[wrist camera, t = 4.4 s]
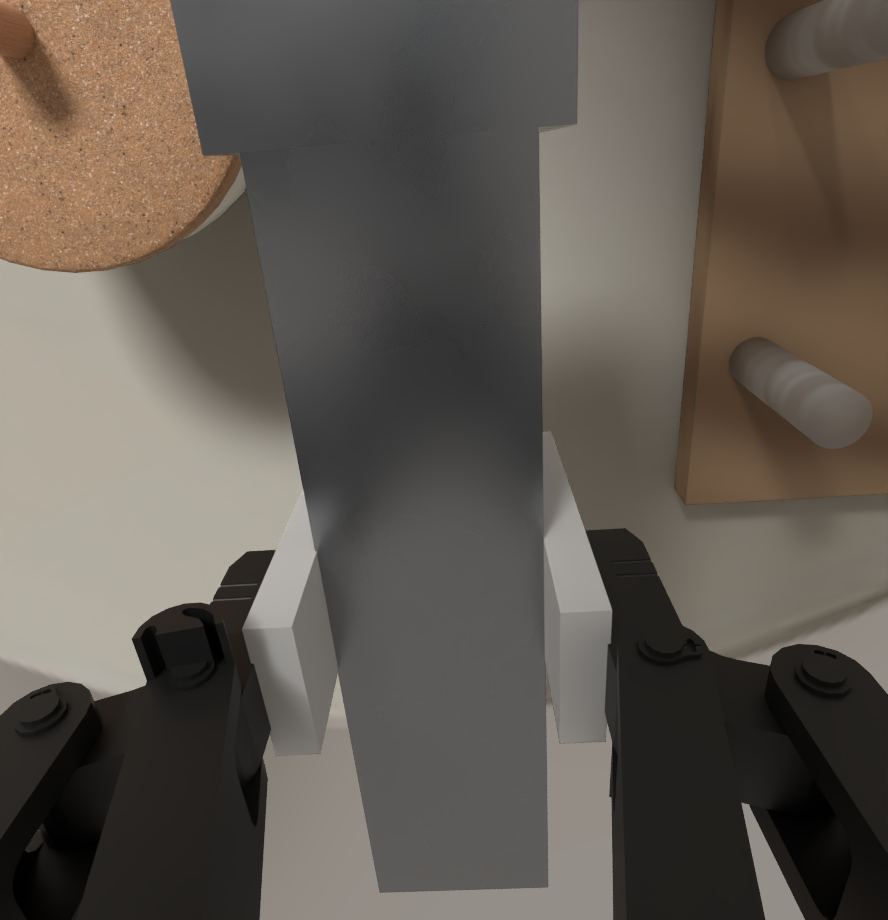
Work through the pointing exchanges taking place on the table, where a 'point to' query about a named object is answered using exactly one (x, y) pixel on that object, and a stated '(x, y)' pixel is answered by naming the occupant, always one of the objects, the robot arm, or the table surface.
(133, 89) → the lidded jar
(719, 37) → the rack
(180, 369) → the table surface
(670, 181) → the table surface
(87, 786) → the robot arm
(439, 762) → the grey notched bar
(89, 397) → the table surface
